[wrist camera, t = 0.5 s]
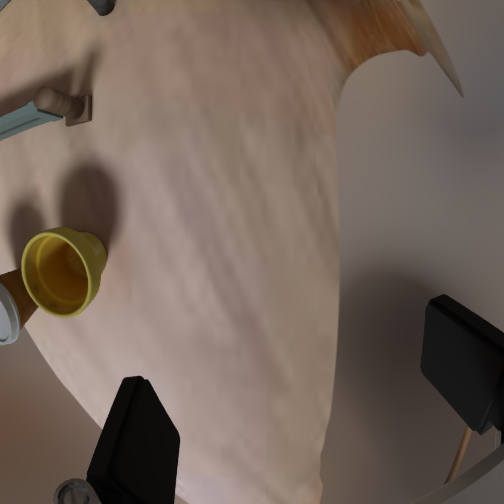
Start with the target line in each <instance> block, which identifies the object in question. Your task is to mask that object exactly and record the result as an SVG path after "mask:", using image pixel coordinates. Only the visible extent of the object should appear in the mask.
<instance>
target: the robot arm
mask: <svg viewBox="0 0 504 504" xmlns="http://www.w3.org/2000/svg"><path fill="white" fill-rule="evenodd" d="M420 367H421V371H422V373H423V374H424V376H425V377H426V378H427V379H428V380H429V381H430V382H431V384H432V385H433V386H434V387H435V388H436V389H437V390H438V391H439V393H440V394H441V395H442V396H443V397H444V398H445V399H446V401H447V402H448V403H449V404H450V405H451V406H452V407H453V409H454V410H455V411H456V412H457V413H458V414H459V415H460V417H461V418H462V419H463V420H464V421H465V423H466V424H467V425H468V426H469V427H470V428H471V429H472V430H474V431H477V432H478V433H479V434H480V435H482V434H484V433H485V432H486V431H488V430H489V429H490V428H492V425H494V426H495V428H496V442H495V450H494V451H493V452H492V453H491V454H489V455H488V456H487V457H485V458H484V459H483V460H481V461H480V462H479V463H477V464H476V465H474V466H473V467H471V468H470V469H469V470H467V471H466V472H464V473H463V474H461V475H460V476H458V477H456V478H455V479H453V480H452V481H450V482H448V483H447V484H445V485H443V486H442V487H440V488H438V489H436V490H435V491H433V492H431V493H429V494H427V495H426V496H424V497H422V498H420V499H418V500H416V501H414V502H412V503H410V504H504V333H503V332H502V331H501V330H499V329H498V328H496V327H494V326H493V325H492V324H490V323H489V322H487V321H486V320H484V319H483V318H481V317H480V316H478V315H477V314H475V313H474V312H472V311H471V310H469V309H468V308H466V307H465V306H463V305H461V304H460V303H458V302H457V301H455V300H454V299H452V298H450V297H449V296H447V295H445V294H443V295H440V296H438V297H435V298H433V299H431V300H430V301H429V303H428V305H427V306H426V311H425V328H424V338H423V348H422V357H421V366H420ZM179 448H180V436H179V433H178V431H177V429H176V427H175V426H174V424H173V422H172V421H171V419H170V417H169V416H168V414H167V412H166V411H165V409H164V407H163V405H162V404H161V402H160V400H159V398H158V396H157V394H156V393H155V391H154V389H153V387H152V385H151V383H150V382H149V380H147V379H145V380H144V378H143V377H142V376H133V377H125V378H124V379H123V380H122V383H121V385H120V387H119V390H118V392H117V395H116V397H115V400H114V402H113V404H112V407H111V409H110V412H109V414H108V417H107V420H106V422H105V425H104V427H103V430H102V433H101V435H100V438H99V441H98V443H97V446H96V449H95V452H94V454H93V457H92V460H91V463H90V466H89V468H88V471H87V479H86V481H85V480H83V479H79V478H74V479H69V480H66V481H64V482H63V483H61V484H60V485H59V486H58V488H57V489H56V491H55V493H54V499H53V501H54V504H174V499H175V487H176V476H177V466H178V457H179Z"/></svg>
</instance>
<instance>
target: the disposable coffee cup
mask: <svg viewBox="0 0 504 504" xmlns="http://www.w3.org/2000/svg"><path fill="white" fill-rule="evenodd" d="M38 307H39V306H38V305H37V304H36V303H35V302H34V300H33V299H32V298H31V296H30V295H29V293H28V291H27V289H26V286H25V284H24V281H23V277H22V270H21V268H20V269H17V270H14V271H11V272H8V273H5V274H2V275H0V345H5V344H11V343H13V342H14V341H15V340H16V339H17V338H18V335H19V332H20V330H21V328H22V327H23V325H25V323H26V322H27V321H28V319H29V318H30V317H31V316H32V314H33V313H34V312H35V311H36V309H37V308H38Z"/></svg>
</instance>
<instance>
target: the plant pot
mask: <svg viewBox="0 0 504 504" xmlns="http://www.w3.org/2000/svg"><path fill="white" fill-rule="evenodd" d="M106 260H107V257H106V251H105V248H104V245H103V244H102V242H101V241H100V239H99V238H98V237H96V236H95V235H93V234H91V233H88V232H76V231H74V230H72V229H69V228H64V227H58V228H53V229H49V230H46V231H43V232H41V233H38V234H37V235H35V236H34V237H32V238H31V239H30V241H29V242H28V243H27V245H26V247H25V249H24V252H23V255H22V262H21V270H22V277H23V281H24V284H25V286H26V289H27V291H28V293H29V295H30V296H31V298H32V299H33V300H34V302H35V303H36V304H37V305H38V306H39V307H40V308H41V309H43V310H44V311H45V312H47V313H49V314H51V315H53V316H56V317H61V318H68V317H73V316H76V315H78V314H79V313H81V312H82V311H83V310H84V309H85V308H86V307H87V306H88V305H89V304H90V303H91V302H92V300H93V299H94V298H95V296H96V294H97V292H98V290H99V287H100V282H101V274H102V272H103V270H104V268H105V265H106Z"/></svg>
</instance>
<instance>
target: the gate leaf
mask: <svg viewBox="0 0 504 504" xmlns="http://www.w3.org/2000/svg"><path fill="white" fill-rule="evenodd" d="M60 119H63V116H62V115H58V114H55V113H52V112H48V111H45V110H41V109H38V108H36V107H35V106H34V103H33V101H31V102H29V103H28V105H26V106H24V107H22V108H19V109H17V110H15V111H13V112H11V113H8V114H6V115H4V116H2V117H0V141H1V140H3V139H5V138H8V137H10V136H12V135H15V134H17V133H20V132H22V131H25V130H28V129H30V128H33V127H36V126H38V125H41V124H44V123H47V122H50V121H57V120H60Z"/></svg>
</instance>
